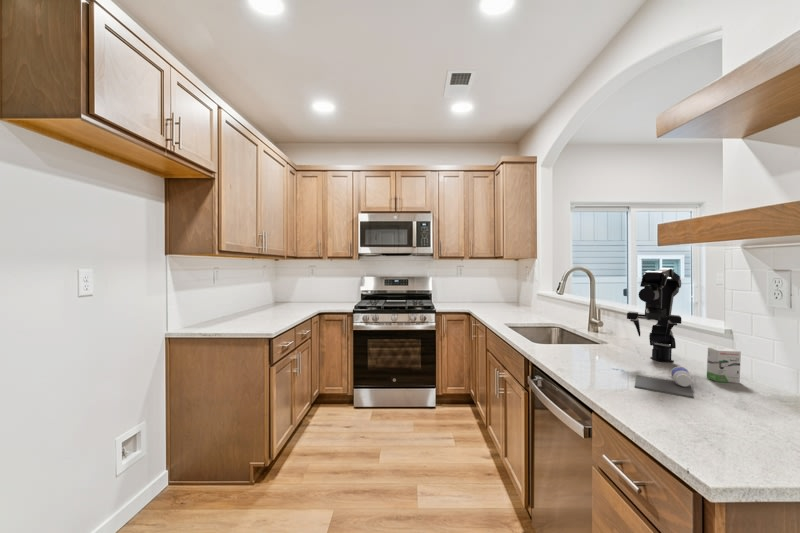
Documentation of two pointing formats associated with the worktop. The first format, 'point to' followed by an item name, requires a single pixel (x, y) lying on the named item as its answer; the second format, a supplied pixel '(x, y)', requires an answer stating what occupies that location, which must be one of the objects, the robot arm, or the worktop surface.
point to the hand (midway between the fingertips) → (652, 337)
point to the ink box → (723, 364)
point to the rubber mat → (663, 386)
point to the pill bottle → (681, 376)
